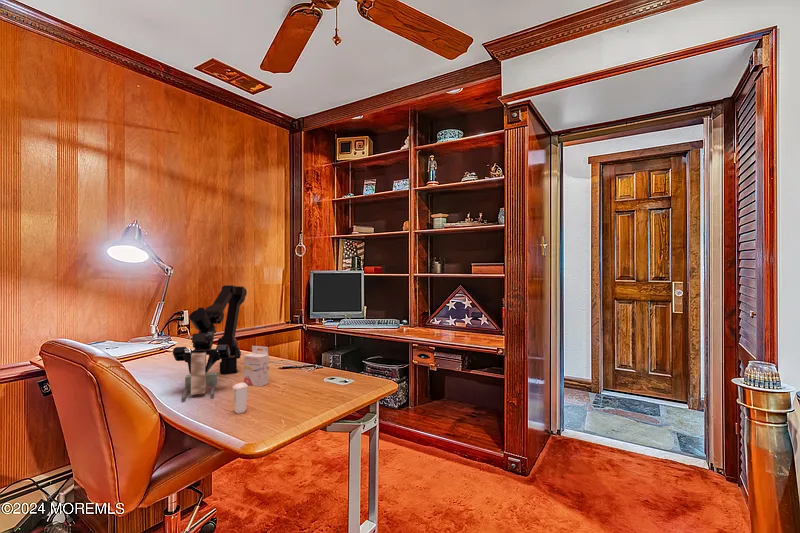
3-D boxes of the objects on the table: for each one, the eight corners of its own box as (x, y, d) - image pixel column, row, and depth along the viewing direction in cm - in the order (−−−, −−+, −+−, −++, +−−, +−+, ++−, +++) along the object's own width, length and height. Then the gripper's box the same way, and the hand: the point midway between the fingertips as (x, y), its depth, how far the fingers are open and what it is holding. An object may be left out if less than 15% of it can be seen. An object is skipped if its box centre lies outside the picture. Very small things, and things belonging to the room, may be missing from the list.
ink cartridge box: (243, 384, 155) (243, 347, 155) (251, 381, 160) (251, 345, 160) (261, 386, 152) (261, 349, 152) (269, 383, 157) (269, 346, 157)
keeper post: (205, 389, 145) (206, 351, 145) (204, 393, 141) (205, 354, 141) (192, 391, 143) (192, 352, 143) (190, 394, 139) (191, 355, 139)
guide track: (216, 381, 160) (216, 371, 160) (215, 398, 139) (215, 386, 139) (186, 385, 155) (186, 374, 155) (179, 402, 135) (179, 390, 135)
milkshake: (232, 409, 128) (232, 378, 128) (249, 409, 128) (249, 378, 128) (228, 414, 123) (227, 383, 123) (245, 414, 124) (245, 382, 124)
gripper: (174, 325, 144) (163, 362, 134) (228, 323, 149) (222, 359, 138) (180, 342, 152) (171, 379, 141) (232, 340, 156) (227, 375, 146)
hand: (198, 372), depth 141 cm, fingers closed on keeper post, 5 cm apart
